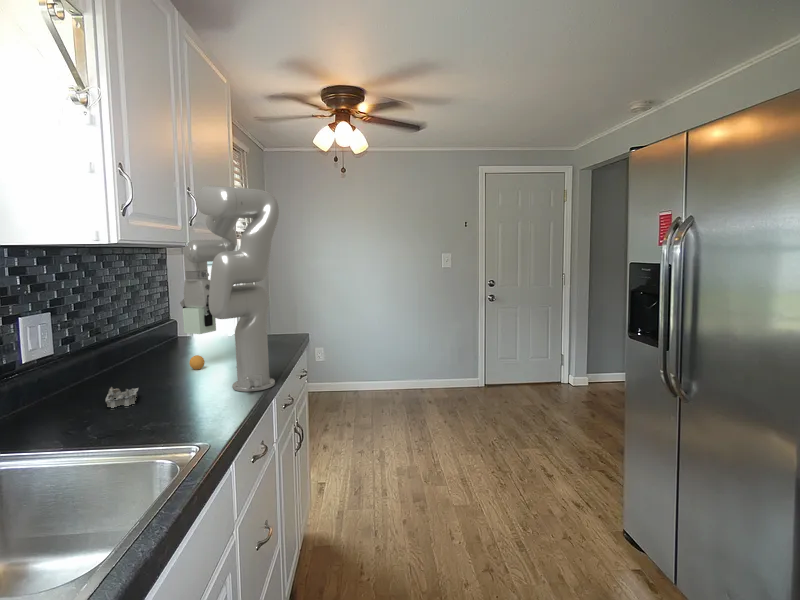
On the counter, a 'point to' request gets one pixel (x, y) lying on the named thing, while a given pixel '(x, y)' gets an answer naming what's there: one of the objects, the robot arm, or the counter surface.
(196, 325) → the pale green cube
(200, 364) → the ball
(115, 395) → the egg carton
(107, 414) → the counter surface
